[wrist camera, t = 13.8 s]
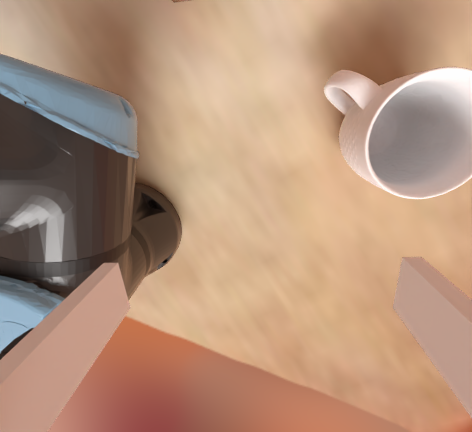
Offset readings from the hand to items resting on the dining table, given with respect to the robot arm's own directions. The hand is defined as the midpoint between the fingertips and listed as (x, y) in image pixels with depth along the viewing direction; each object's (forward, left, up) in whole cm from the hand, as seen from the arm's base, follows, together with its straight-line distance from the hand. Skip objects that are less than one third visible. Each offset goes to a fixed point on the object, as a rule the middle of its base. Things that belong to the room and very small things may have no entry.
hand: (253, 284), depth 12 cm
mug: (+14, +5, -27) cm, 31 cm away
